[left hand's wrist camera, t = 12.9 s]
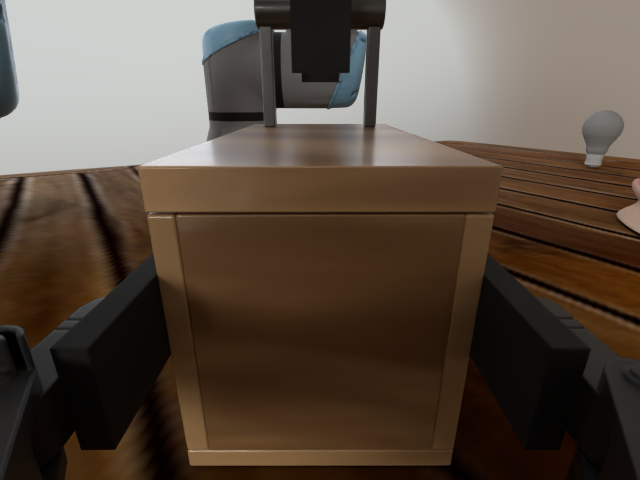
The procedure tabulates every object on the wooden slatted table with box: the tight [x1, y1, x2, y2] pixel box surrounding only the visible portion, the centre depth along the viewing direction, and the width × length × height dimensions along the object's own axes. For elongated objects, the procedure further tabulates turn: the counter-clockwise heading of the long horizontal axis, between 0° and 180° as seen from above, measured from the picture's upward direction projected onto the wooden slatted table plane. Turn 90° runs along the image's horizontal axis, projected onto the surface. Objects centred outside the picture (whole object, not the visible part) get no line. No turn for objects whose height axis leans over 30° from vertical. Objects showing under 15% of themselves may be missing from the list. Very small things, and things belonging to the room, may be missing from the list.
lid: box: [138, 0, 503, 212], centre depth 16 cm, size 18×9×8 cm, turn 0°
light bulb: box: [582, 110, 624, 167], centre depth 67 cm, size 6×6×10 cm
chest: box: [147, 212, 494, 466], centre depth 19 cm, size 17×9×9 cm, turn 0°
